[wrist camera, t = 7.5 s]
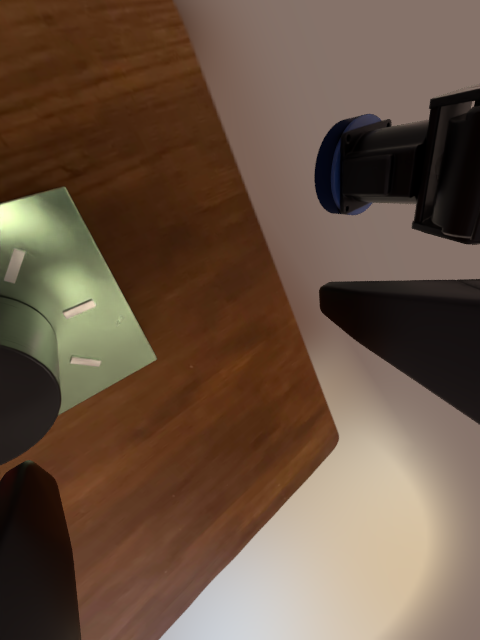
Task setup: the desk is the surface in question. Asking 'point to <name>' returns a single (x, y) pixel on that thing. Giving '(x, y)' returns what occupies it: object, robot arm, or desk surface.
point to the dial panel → (70, 293)
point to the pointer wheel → (26, 378)
